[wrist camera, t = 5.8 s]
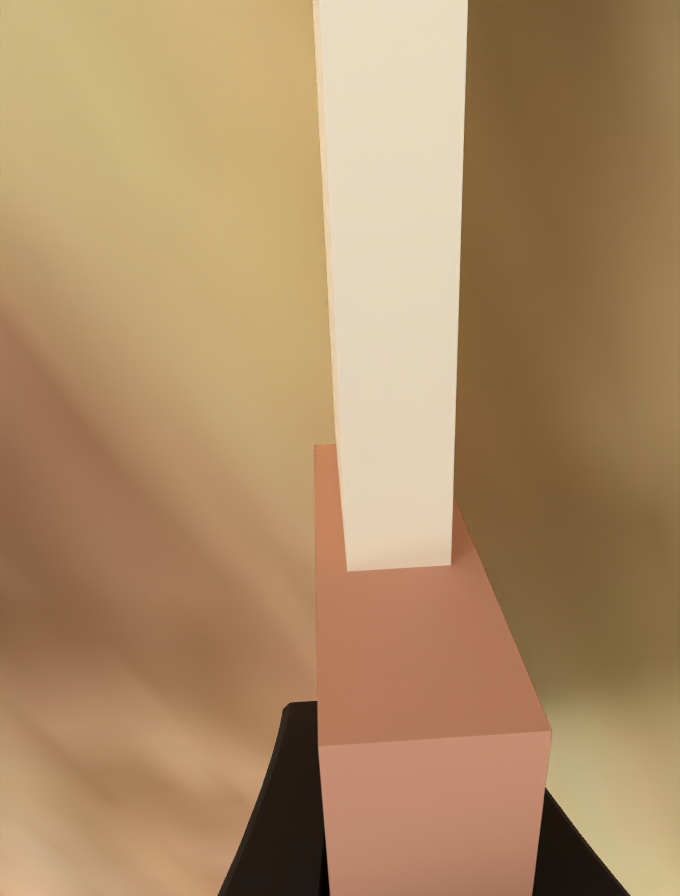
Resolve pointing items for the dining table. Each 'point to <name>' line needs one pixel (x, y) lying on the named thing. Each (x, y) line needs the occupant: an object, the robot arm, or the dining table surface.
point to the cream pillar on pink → (407, 492)
